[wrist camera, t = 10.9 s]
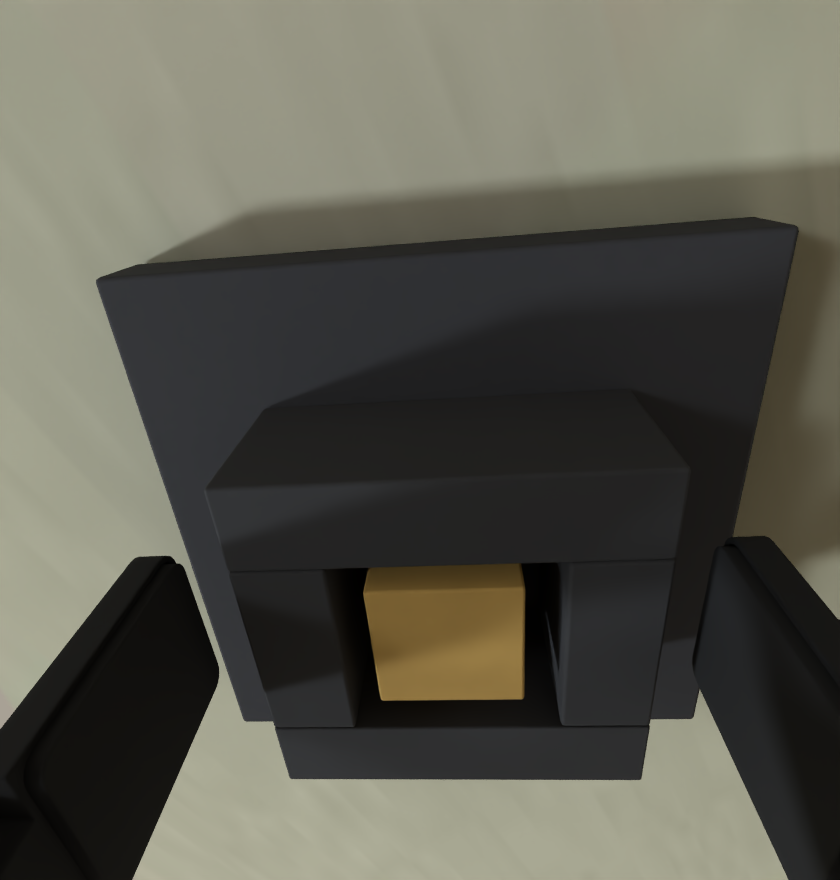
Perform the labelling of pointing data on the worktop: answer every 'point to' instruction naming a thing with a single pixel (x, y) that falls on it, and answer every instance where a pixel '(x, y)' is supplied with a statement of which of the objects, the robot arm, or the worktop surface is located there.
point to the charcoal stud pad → (461, 376)
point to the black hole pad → (457, 543)
